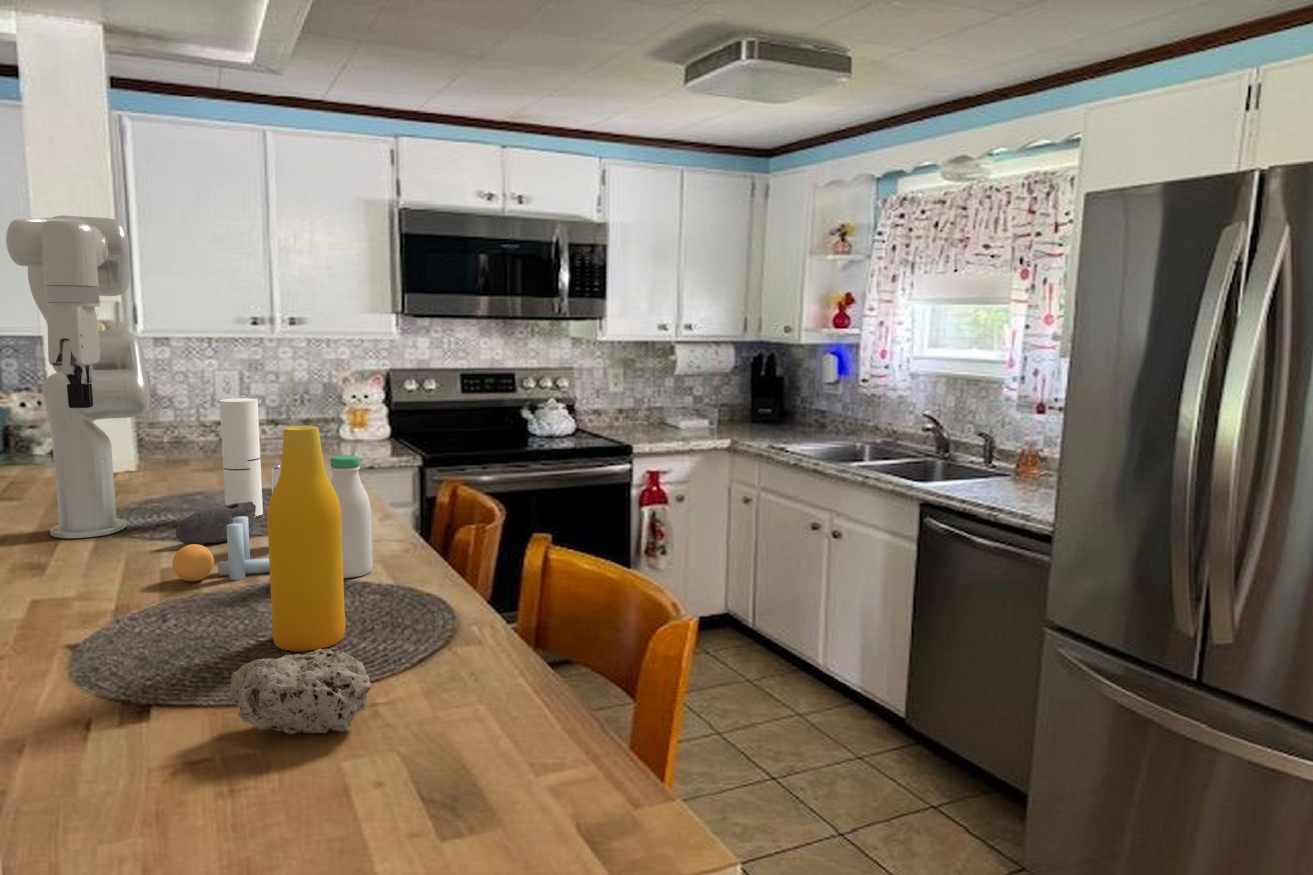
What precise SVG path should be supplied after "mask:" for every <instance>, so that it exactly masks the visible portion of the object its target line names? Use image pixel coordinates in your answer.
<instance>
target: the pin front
mask: <svg viewBox="0 0 1313 875" xmlns="http://www.w3.org/2000/svg"><path fill="white" fill-rule="evenodd" d="M244 561H245V575H252V574H253V575H254V574H256V575H257V574H270V563H269V558H255V559H254V558H253V559H250V560H244ZM217 564H218V565H217V572H218V576H220V577H223V576H229V564H228V560H220V561H218V563H217Z"/></svg>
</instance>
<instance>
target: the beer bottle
mask: <svg viewBox="0 0 1313 875" xmlns="http://www.w3.org/2000/svg"><path fill="white" fill-rule="evenodd" d="M280 465H281V472H280V477H279V480H278V482H277V484H276V486H275V488H274V491H273V493H272V492H271V496H270V498H269V502H268V505H267V515H266V516H267V518H266V520H267V521H266V522H267V524H266V525H267V532H268V533H267V537H268V539H267V540H268V541H267V542H268V559H269V563H270V573H269V578H270V579H269V580H270V598H271V599H270V600H271V601H270V602H271V635H272V640H273V643H274V644H275V646H276V647H277V648H278V649H280V648H281V650H283V649H284V650H283V651H287V650H290V651H289V652H309V651H308V650H313V651H315V650H319V649H322V648H323V649H327V648H329V647H332V646H333V645H336V644H338V643H339V642H341V640H343V638H344V637H345V632H346V625H347V624H346V613H345V612H346V611H345V591H344V590H345V587H344V586H345V585H344V578H343V553H342V523H341V507H340V502H339V499H338V496H337V494H336V492H335V490H334V488H333V486H332V484H331V480H330V479H329V477H328V474H327V472H326V467H325V463H324V456H323V449H322V443H321V435H320V430H319V427H318V426H315V425H293V426H287V427H284V428H283V438H282V451H281V464H280ZM323 649H322V650H323Z"/></svg>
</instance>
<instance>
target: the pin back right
mask: <svg viewBox="0 0 1313 875" xmlns="http://www.w3.org/2000/svg"><path fill="white" fill-rule="evenodd" d="M232 520H233V523H241V524H243V541H244V560H251V552H250V551H251V550H250V547H251V545H250V536H249V526H248V517H246V516H240V517H234V518H232Z"/></svg>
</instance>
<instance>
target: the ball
mask: <svg viewBox="0 0 1313 875" xmlns="http://www.w3.org/2000/svg"><path fill="white" fill-rule="evenodd" d="M214 565H215V559H214V555H213V553H212V552H211V550H210V549H209V548H207V547H206V546H204V545H203V544H201V545H198V544H191V545H188V544H186V545H185V546H183V547H181V548H180V549H179V550H177V552H176V553H175V554H174V556H173V557H172V570H173V571H174V573H175V575H176V576H177V577H178V578H180V579H181V580H183V581H186V582H197V581H201V580H203V579H205V578H206V577H208V576H209V575H210V573H211V572H212V571H213V568H214Z"/></svg>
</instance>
